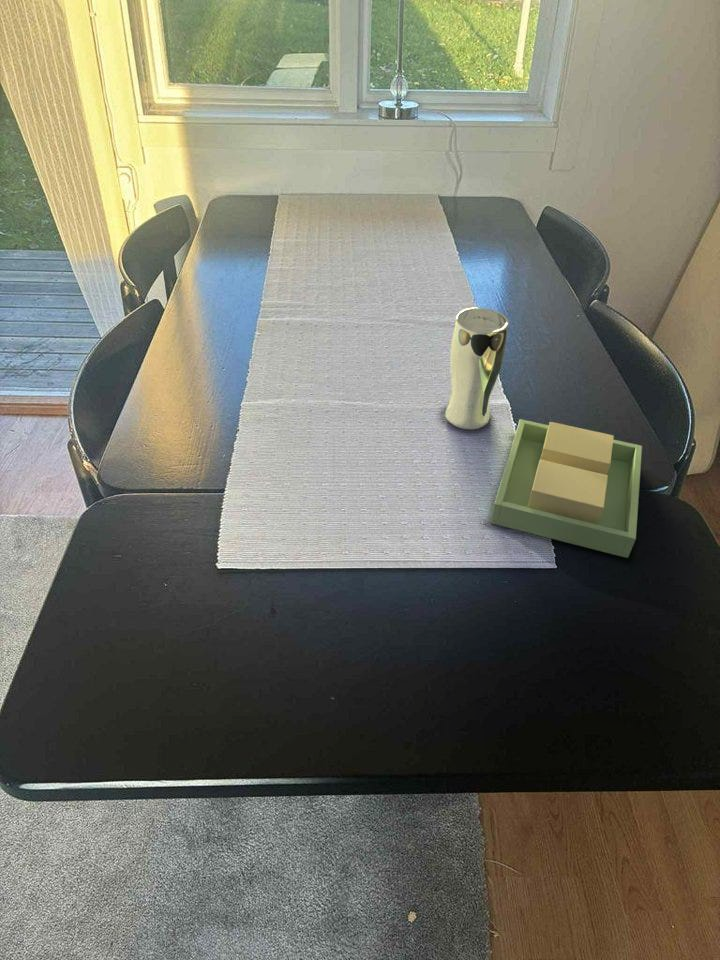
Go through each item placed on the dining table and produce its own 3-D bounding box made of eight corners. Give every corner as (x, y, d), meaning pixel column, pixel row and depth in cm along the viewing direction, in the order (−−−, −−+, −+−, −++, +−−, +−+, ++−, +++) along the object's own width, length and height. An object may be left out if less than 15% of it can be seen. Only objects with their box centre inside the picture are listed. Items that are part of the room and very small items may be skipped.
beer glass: (502, 417, 98) (521, 320, 88) (472, 438, 94) (488, 339, 84) (462, 396, 101) (476, 301, 91) (431, 416, 97) (443, 319, 88)
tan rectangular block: (599, 500, 84) (608, 475, 82) (595, 533, 80) (604, 507, 77) (533, 484, 86) (539, 459, 84) (525, 515, 82) (531, 490, 79)
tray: (635, 464, 91) (642, 445, 89) (627, 558, 78) (636, 539, 76) (515, 437, 94) (519, 418, 92) (490, 523, 82) (494, 503, 80)
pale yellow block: (605, 459, 90) (614, 435, 88) (601, 488, 86) (610, 463, 83) (543, 445, 92) (549, 421, 90) (536, 473, 88) (543, 448, 85)
